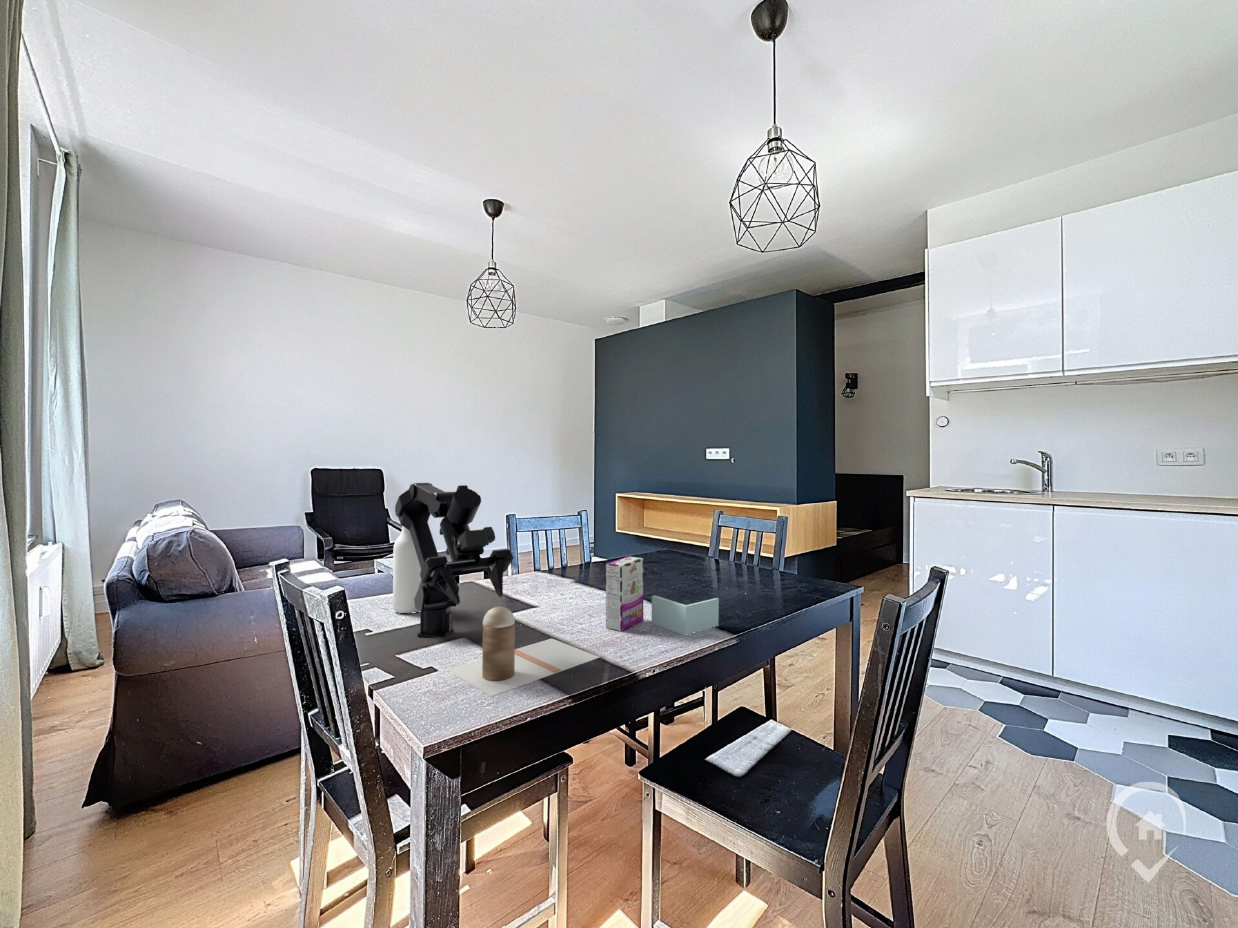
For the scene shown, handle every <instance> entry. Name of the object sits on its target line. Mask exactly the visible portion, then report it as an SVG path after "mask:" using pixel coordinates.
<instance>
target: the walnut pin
mask: <svg viewBox="0 0 1238 928" xmlns="http://www.w3.org/2000/svg"><path fill="white" fill-rule="evenodd" d="M515 622H516V621H515V617H514V614H513V612H512V611H511V610H510V609H509V608H507V607H506V606H505V607H504V606H495V607H492V608H490V609H489V610H488V611H487V612H486V613H485V615H484V616H483V620H482V654H481V655H482V658H481V659H482V677H483V678H484V679H485V680H488V681H503V680H507V679H510V678H511V677H513V676H514V665H515V649H516V648H515V647H516V646H515V643H516V641H515V639H516V632H515V631H516V626H515V625H516V623H515Z"/></svg>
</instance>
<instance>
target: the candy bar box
mask: <svg viewBox="0 0 1238 928" xmlns="http://www.w3.org/2000/svg"><path fill="white" fill-rule="evenodd" d="M643 620H644V558H642V557H637V556H626V557H623V558H620V559H618V560H613V561H611V562H610V561H609V562H607V563H606V564H605V628H606V629H608V630H612V631H618V632H623V631H625V630H628V629H629V628H631V627H633V626H635V625H637V624H638V623H641V622H643Z"/></svg>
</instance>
